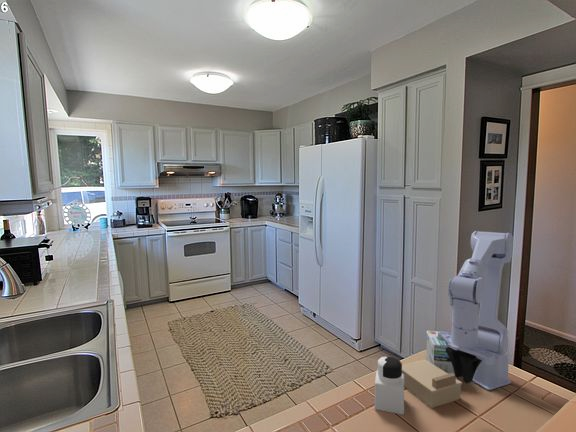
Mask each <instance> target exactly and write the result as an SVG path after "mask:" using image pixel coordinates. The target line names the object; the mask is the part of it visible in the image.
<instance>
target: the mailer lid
mask: <svg viewBox="0 0 576 432" xmlns="http://www.w3.org/2000/svg"><path fill="white" fill-rule="evenodd" d="M402 372H404V373H405V374H406V375H408V376H409V377H411V378H412V379H413V380H415V381H416V382H417V383H419V384H420V385H422V386H423V387H424V388H426V389H427V390H428V391H430V392H431V393H435V392H438V391H441V390H444V389H448V388H451V387H454V386H458V385H461V386H462V385H463V382H462V381H461V380H459V379H458V378H457V379H456V377H455V374H453V373H450V374H448V373H446V372H445V371H443V370H441V369H440V368H438V367H436V366H435V365H433V364H432V363H430V362H428V361H427V360H426V359H425V358H423V359H419V360H415V361H411V362H407V363H403V364H402Z"/></svg>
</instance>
